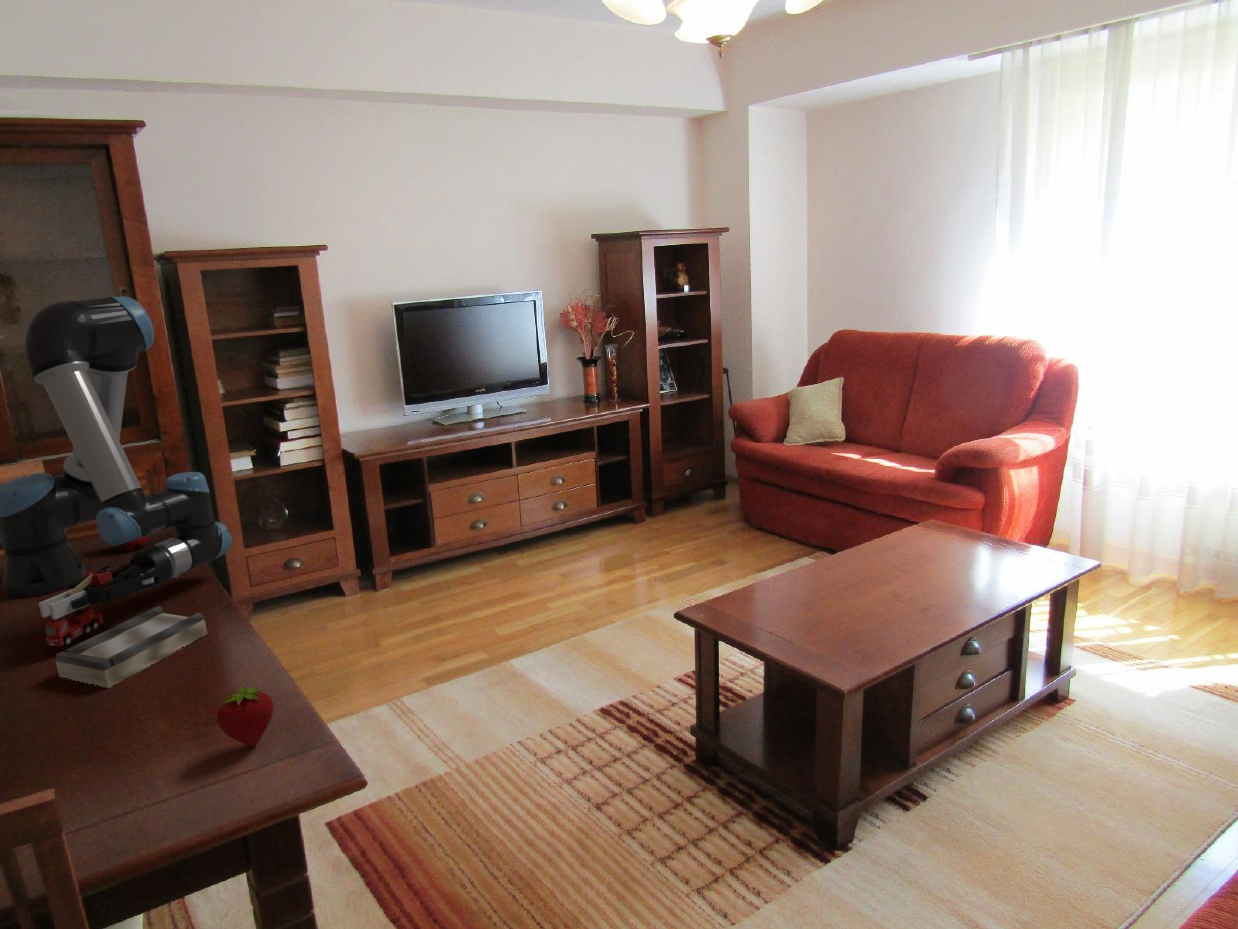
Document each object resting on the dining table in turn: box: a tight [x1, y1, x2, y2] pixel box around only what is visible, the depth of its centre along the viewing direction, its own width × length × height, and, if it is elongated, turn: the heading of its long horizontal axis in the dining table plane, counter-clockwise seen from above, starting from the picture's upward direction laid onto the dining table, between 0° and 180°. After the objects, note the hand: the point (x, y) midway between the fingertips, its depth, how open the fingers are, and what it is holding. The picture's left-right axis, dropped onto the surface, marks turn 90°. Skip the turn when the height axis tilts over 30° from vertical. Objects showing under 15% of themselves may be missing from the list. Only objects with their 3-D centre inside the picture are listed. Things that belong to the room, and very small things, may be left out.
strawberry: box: [216, 679, 275, 748], centre depth 122 cm, size 6×8×10 cm
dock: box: [55, 605, 208, 689], centre depth 153 cm, size 20×12×4 cm, turn 157°
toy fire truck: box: [44, 570, 113, 647], centre depth 160 cm, size 3×14×10 cm, turn 166°
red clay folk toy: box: [117, 535, 150, 552], centre depth 209 cm, size 8×7×15 cm
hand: (47, 611), depth 155 cm, fingers closed on toy fire truck, 2 cm apart
